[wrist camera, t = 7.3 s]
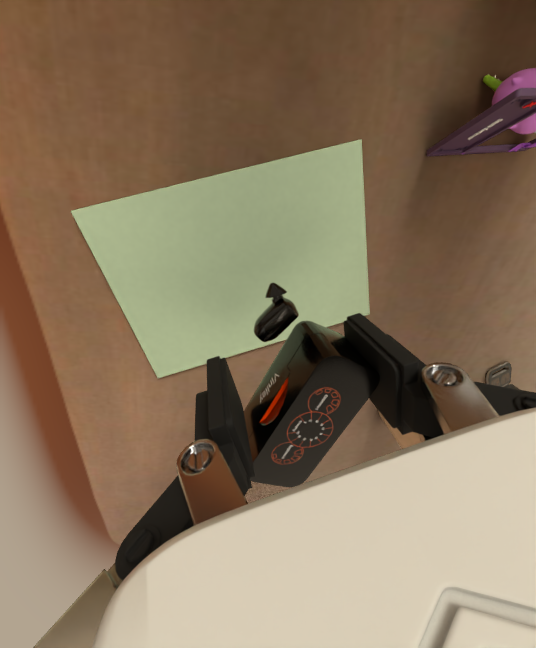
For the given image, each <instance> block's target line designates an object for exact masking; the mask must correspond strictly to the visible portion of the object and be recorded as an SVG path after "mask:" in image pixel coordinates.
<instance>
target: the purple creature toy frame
mask: <svg viewBox="0 0 536 648" xmlns="http://www.w3.org/2000/svg"><path fill="white" fill-rule="evenodd" d="M495 78H496V75H495V76H494V77H491V76H490V75H489V74H488V75H486V76H485V77H484V79H483V82H484V83H486V85H487V86H489V87H490V88H491V89H493V90H494V92H495V94H494V96H493V99H492V106H491V107H490V108H488V109H487V110H485V111H484V112H482V113H481V114H480V115H478V116H477V117H475V118H474V119H472V120H471V121H469V122H468V123H466V124H465V125H463V126H462V127H460V128H459V129H457V130H456V131H454V132H453V133H451V134H450V135H448V136H447V137H445V138H444V139H443V140H441V141H440V142H438V143H437V144H435V145H434V146H432V147H431V148H429V149H428V150H427V156H443V155H461V154H479V153H496V152H514V151H515V152H516V151H525V150H528V149H530V148H532V147H536V139H534V140H532V141H530V142H528V143H521V144H511V145H492V146H478V145H480V144H482V143H483V142H485V141H487V140H489V139H491V138H492V137H494V136H496V135H498V134H499V133H501V132H503V131H505V130H507V129H511V130H513V131H514V132H516V133H519V134H530V133H533V132H535V133H536V68H529V69H524V70H521V71H518V72H516V73H514V74H513V75H511V76H510V77H508V78H507V79H506V80H504V81H500V80H499V79H495Z"/></svg>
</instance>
